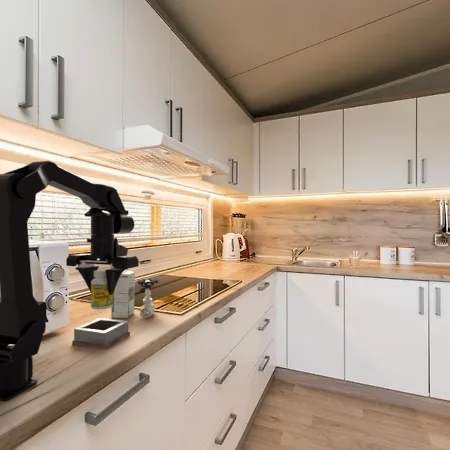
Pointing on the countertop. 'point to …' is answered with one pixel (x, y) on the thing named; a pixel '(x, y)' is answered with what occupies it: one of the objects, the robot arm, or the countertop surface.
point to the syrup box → (124, 296)
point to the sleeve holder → (101, 333)
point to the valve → (147, 298)
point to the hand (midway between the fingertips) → (102, 293)
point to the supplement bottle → (100, 291)
